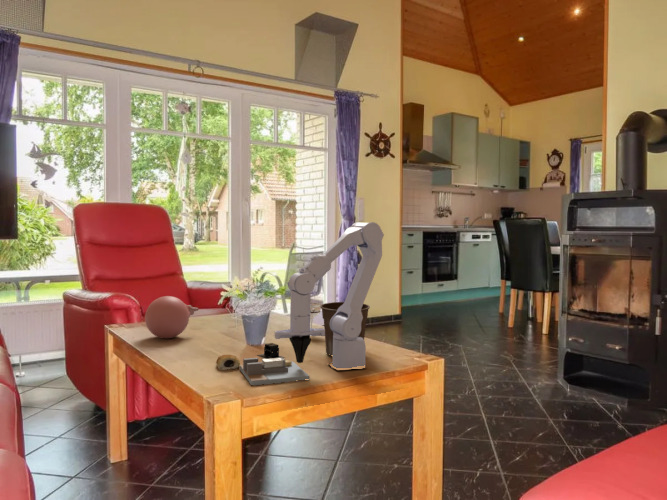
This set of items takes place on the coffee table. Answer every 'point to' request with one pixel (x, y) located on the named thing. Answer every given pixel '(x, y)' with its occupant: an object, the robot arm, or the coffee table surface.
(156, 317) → the balloon
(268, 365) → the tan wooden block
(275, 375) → the door board
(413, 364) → the coffee table surface
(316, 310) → the wineglass
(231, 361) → the pastry
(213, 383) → the coffee table surface
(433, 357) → the coffee table surface
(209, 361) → the coffee table surface
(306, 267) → the robot arm
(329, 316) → the plant pot
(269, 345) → the black block
